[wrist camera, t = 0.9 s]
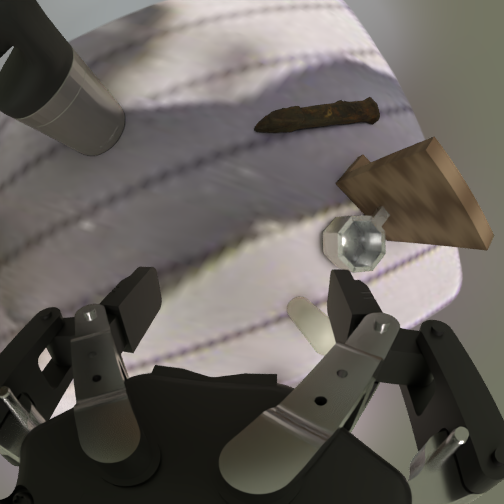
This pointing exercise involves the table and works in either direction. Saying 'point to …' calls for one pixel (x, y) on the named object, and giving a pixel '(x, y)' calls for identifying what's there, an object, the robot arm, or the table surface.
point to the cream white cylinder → (312, 324)
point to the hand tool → (319, 116)
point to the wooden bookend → (419, 197)
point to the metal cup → (356, 241)
